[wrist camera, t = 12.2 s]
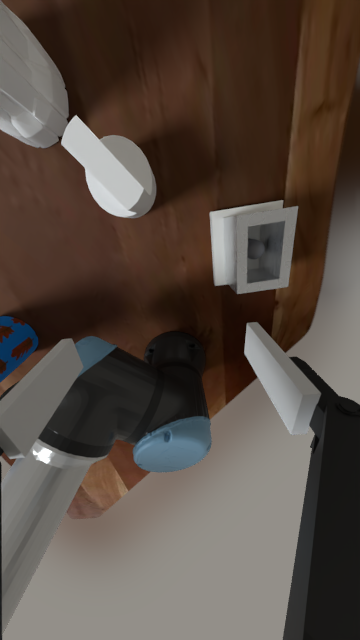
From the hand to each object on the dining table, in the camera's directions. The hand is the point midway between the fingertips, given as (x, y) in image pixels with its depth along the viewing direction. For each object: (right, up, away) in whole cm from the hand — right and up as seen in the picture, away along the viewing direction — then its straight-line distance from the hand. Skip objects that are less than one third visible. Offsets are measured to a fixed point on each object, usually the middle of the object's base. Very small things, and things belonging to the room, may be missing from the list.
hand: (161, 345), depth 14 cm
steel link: (+14, +15, +20) cm, 28 cm away
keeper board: (+14, +16, +21) cm, 30 cm away
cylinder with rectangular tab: (-7, +24, +17) cm, 30 cm away
